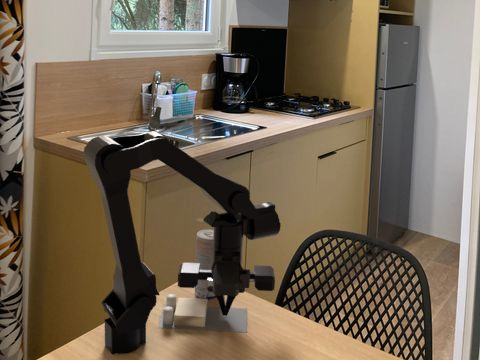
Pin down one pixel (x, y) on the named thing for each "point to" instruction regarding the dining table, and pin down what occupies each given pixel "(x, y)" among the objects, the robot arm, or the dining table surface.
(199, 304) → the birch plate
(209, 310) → the board
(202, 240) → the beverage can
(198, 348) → the dining table surface
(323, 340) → the dining table surface
